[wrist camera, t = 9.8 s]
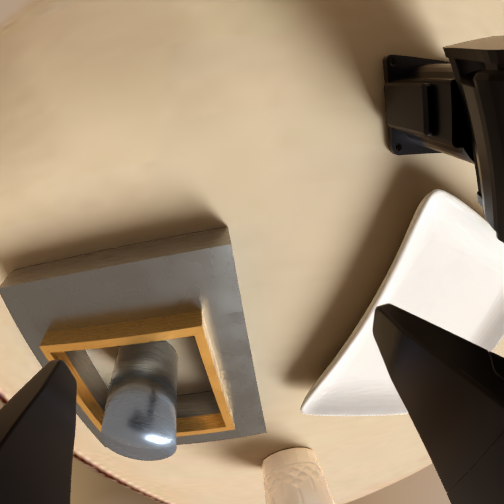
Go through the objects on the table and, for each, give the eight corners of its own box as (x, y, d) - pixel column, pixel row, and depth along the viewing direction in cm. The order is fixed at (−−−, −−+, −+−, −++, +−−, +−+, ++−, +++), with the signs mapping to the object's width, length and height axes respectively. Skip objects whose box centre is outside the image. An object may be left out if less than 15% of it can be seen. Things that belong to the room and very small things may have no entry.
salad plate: (287, 390, 28) (296, 419, 25) (407, 170, 20) (437, 184, 17) (431, 394, 34) (443, 413, 31) (526, 251, 26) (546, 265, 23)
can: (168, 330, 22) (161, 421, 15) (185, 374, 25) (185, 458, 18) (109, 338, 22) (86, 424, 15) (130, 380, 24) (119, 461, 17)
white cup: (309, 467, 37) (327, 527, 28) (253, 474, 35) (265, 538, 26) (326, 440, 33) (350, 509, 24) (261, 447, 32) (277, 523, 23)
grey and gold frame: (227, 226, 20) (233, 256, 16) (262, 411, 28) (269, 445, 25) (13, 270, 18) (-13, 301, 15) (108, 427, 27) (103, 459, 24)
